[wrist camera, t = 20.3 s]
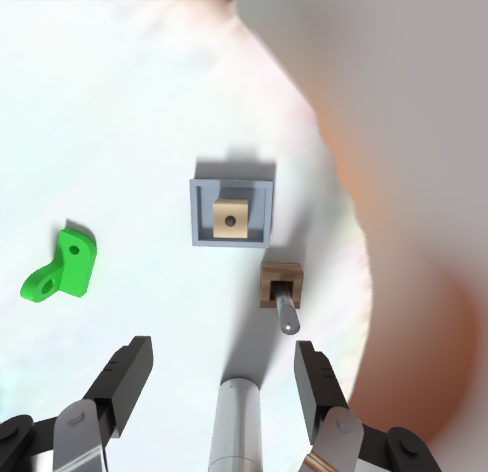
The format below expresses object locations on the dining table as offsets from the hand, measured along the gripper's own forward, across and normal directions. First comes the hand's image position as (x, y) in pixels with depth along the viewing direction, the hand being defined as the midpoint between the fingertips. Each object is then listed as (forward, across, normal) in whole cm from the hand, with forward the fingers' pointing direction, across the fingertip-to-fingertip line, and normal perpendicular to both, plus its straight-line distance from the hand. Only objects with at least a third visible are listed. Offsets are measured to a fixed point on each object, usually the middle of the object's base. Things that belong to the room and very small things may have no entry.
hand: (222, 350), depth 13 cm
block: (+29, +1, -2) cm, 29 cm away
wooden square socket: (+30, -8, +11) cm, 32 cm away
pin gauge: (+29, -8, +11) cm, 32 cm away
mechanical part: (+30, +31, +8) cm, 44 cm away
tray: (+30, +1, -2) cm, 30 cm away
